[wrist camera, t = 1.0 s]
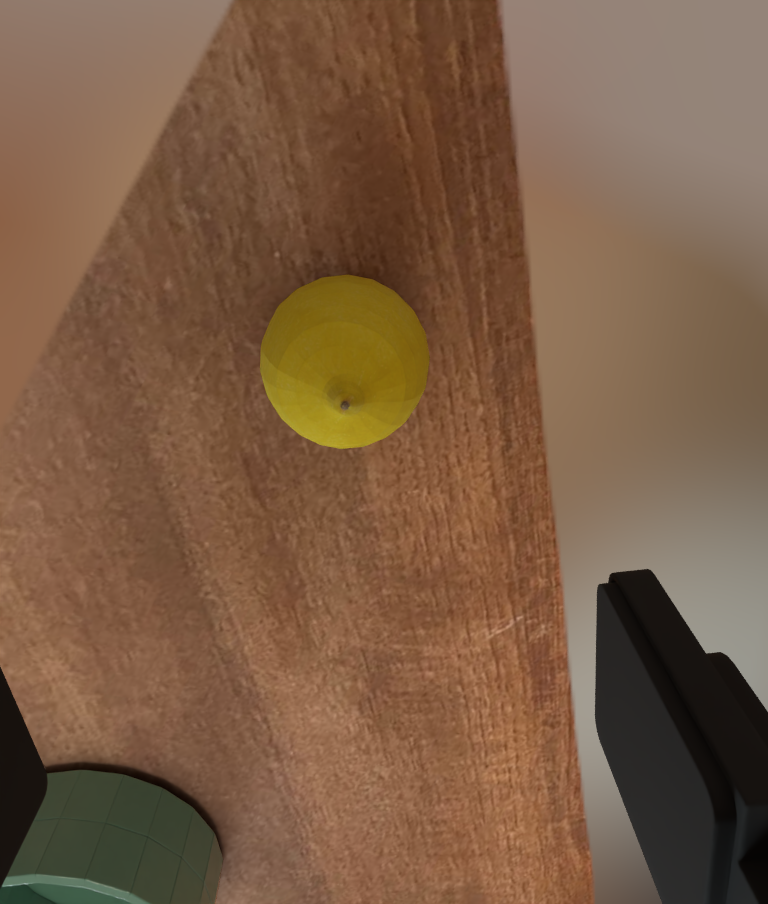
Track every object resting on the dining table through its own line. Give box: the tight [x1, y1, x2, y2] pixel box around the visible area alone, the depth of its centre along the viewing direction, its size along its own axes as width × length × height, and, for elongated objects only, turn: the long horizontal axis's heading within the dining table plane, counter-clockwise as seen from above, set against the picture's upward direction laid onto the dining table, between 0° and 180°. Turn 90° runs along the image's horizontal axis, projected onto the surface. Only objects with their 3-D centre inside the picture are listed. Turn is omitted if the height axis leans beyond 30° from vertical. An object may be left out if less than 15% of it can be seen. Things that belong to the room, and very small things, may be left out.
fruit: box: [260, 274, 430, 449], centre depth 23 cm, size 6×6×8 cm
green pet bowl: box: [0, 770, 223, 904], centre depth 36 cm, size 13×13×6 cm
